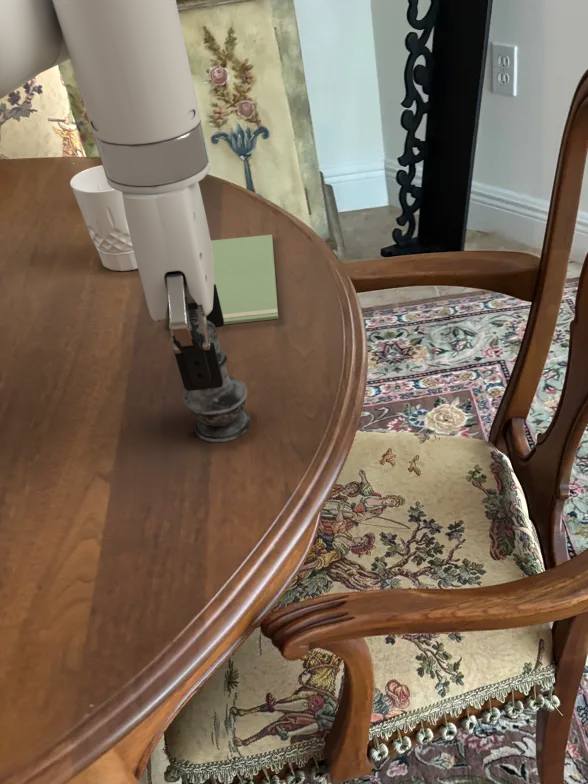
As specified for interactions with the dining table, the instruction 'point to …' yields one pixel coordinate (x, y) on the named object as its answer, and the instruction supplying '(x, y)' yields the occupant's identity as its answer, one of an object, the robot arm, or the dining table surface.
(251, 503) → the dining table surface
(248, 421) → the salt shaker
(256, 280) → the light green notebook
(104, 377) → the dining table surface
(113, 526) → the dining table surface
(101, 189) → the white cup
